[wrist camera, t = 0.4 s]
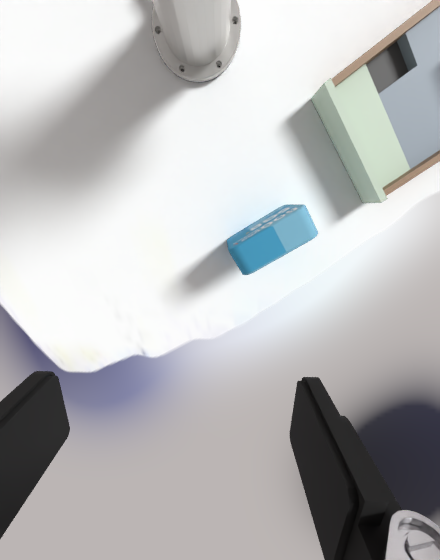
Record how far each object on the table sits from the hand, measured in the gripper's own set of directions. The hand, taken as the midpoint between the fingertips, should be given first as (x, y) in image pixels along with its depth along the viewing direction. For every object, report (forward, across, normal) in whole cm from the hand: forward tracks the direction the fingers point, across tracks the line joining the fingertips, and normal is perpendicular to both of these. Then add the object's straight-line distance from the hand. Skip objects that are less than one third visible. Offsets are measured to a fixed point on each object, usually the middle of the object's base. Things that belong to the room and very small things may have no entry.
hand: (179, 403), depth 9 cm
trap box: (+37, -32, -24) cm, 54 cm away
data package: (+37, -9, -3) cm, 38 cm away
